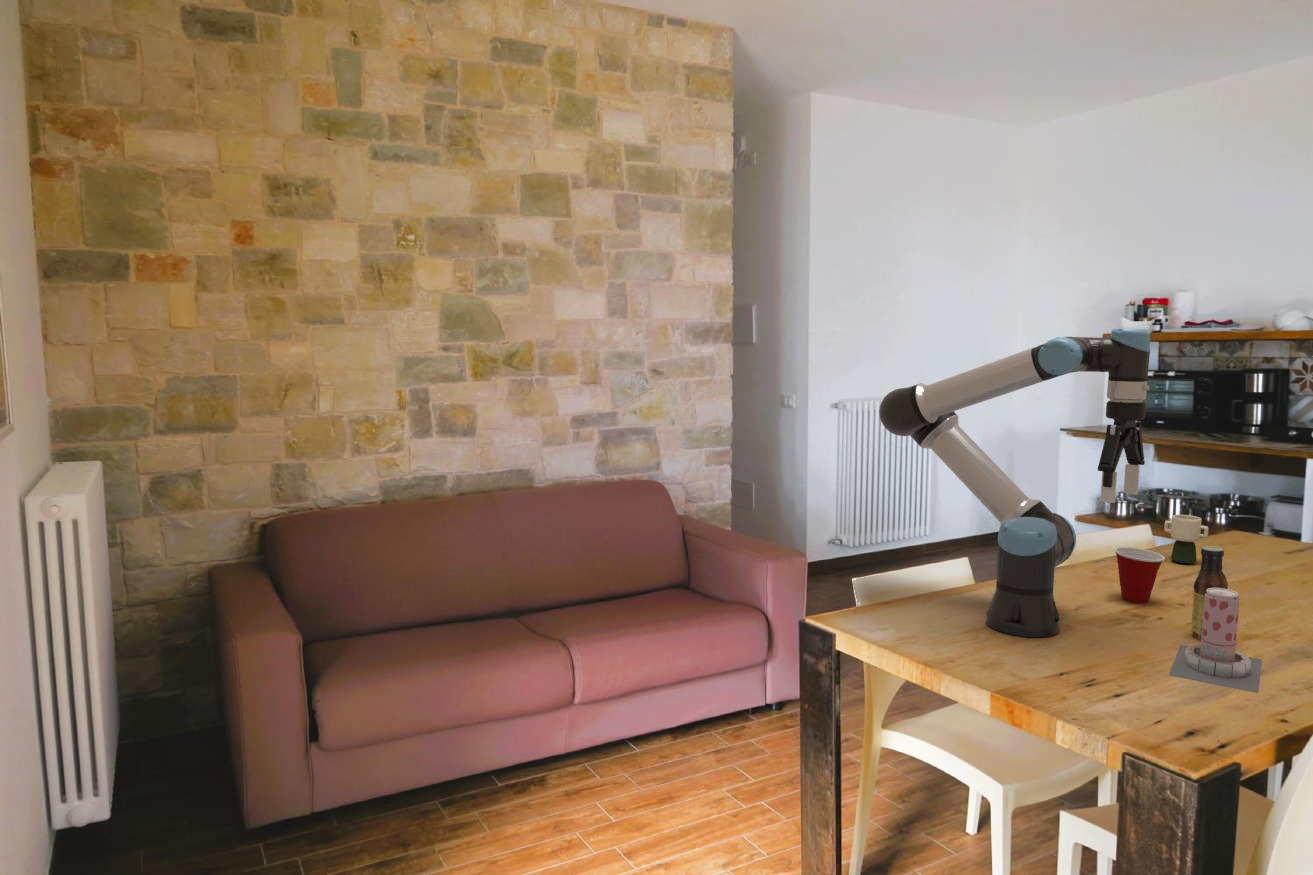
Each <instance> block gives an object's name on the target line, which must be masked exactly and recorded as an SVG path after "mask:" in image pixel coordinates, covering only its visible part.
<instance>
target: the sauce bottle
mask: <svg viewBox="0 0 1313 875" xmlns="http://www.w3.org/2000/svg"><path fill="white" fill-rule="evenodd" d="M1200 554H1201V564H1200V569H1199V571H1198V574H1197V577H1196V579H1195V581H1194V582H1193V586H1192V589H1193V590H1192V594H1193V595H1192V611H1191V612H1192V614H1191V632H1192V633H1191V635H1192V637H1193V638H1195V639H1197V640H1200V641H1201V636H1202V624H1203V613H1204V601H1205V593H1206V590H1207V589H1208V588H1224V589H1228V588H1229V587H1228V586H1229V584H1228V580H1227V577H1226V575H1225V574H1224V572H1223V557H1224V555H1225V551H1224V548H1221V547H1219V546H1210V545H1209V546H1207V545H1205V546H1202V547H1201V548H1200Z"/></svg>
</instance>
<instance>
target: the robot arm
mask: <svg viewBox="0 0 1313 875" xmlns="http://www.w3.org/2000/svg"><path fill="white" fill-rule="evenodd" d="M1150 341H1151V333H1150V331H1149V330H1148V329H1147V328H1113V329H1112V330H1111V333H1110V335H1109V336H1108V337H1093V336H1091V337H1089V336H1088V337H1087V336H1086V337H1085V336H1060V337H1059V336H1058V337H1055V338H1052V339H1050V340H1048V341H1046V342H1045V343H1042V344H1040V345H1038V346H1035V347H1032V348H1031V347H1030V348H1028V349H1026V350H1023V351H1019V352H1018V353H1015V354H1012V355H1009V356H1007V357H1004V358H1001V359H998V360H995V361H993V362H989V363H987V364H984V365H982V366H978V367H975V368H973V369H970V370H967V371H965V372H962V373H958V374H956V375H953V376H951V377H947V378H945V379H942V380H939V381H937V382H934V383H931V384H924V383H917V384H915V385H911V386H908V387H901V388H897V389H894V390H892V391H890V392H889V393H887V394H886V395H885V396H884V398H882V400H881V403H880V405H879V410H878V411H879V419H880V422H881V423H882V426H883V427H884V428H885V430H887V431H888V432H889V433H891V434H893V435H896V436H900V437H908V436H910V437H911V439H913V440H914V442H916V443H917V445H918V446H919V447H920V448H921V449H930V450H931V451H933V452H934V454H935V455H936V456H937V458H938V459H940V460H941V461H942V462H943V463H944V464H945V465H946V467H948V469H949V470H950V471H952V473H953V474H954V475H955V476H956V477H957V478H958V480H959V481H960V482H962V483H963V484H964V485H965V487H966V488H967V489H968V490H969V491H970V492H971V493H972V495H974V496H975V497H976V498H977V499H978V501H979V502H980V503H982V505H983V506H984V507H985V508H986V509H987V510H988V512H990V513H991V514H992V515H993V516H994V518H996V520H997V521H998V522H999V523H1000V525H999V530H998V534H997V544H998V545H997V559H996V560H997V561H996V564H997V566H996V582H995V584H996V586H995V591H994V592H993V595H992V598H991V600H990V602H989V605H988V608H987V610H986V613H985V623H986V625H987V626H988V627H990V628H991V629H993V630H995V631H998V632H1001V633H1004V634H1008V635H1013V636H1018V637H1025V638H1046V637H1052V636H1056V635H1058V634H1059V633H1060V631H1061V619H1060V616H1059V612H1058V608H1057V605H1056V601H1055V597H1054V585H1055V569H1056V568H1057V567H1058V566H1060V565H1061V564H1063V563H1064V562H1066V561H1067V560H1069V558H1070V557H1071V555H1072V554H1073V553H1074V550H1075V548H1076V544H1077V534H1076V531H1075V528H1074V527H1073V524H1071V522H1070V521H1069V520H1068V519H1067V518H1066V517H1064V516H1062V515H1061V514H1059V513H1056V512H1052V510H1050V509H1049V507H1047V505H1045V503H1043V502H1042V501H1041V500H1040V499H1032V498H1029V497H1028V496H1027V495H1026V493H1024V491H1022V490H1021V489H1020V487H1018V486H1017V484H1016V483H1015V482H1014V481H1013V480H1012V479H1011V478H1010V477H1009V476H1008V475H1007V474H1006V473H1005V471H1003V469H1001V468H1000V467H999V466H998V465H997V463H995V461H993V459H992V458H991V457H990V456H989V455H988V454H987V453H986V452H985V451H984V450H983V449H982V448H981V447H980V446H979V445H978V444H977V443H976V442H975V441H974V440H973V439H972V438H971V437H970V436H969V434H967V432H965V430H964V429H963V428H961V427H960V425H959V415H958V414H957V413H956V411H959V410H962V409H965V408H967V407H971V406H974V405H976V404H980V403H983V402H985V401H988V400H992V399H994V398H997V397H1001V396H1003V395H1006V394H1009V393H1013V392H1016V391H1018V390H1021V389H1024V388H1025V389H1026V388H1027V387H1030V386H1034V385H1036V384H1040V383H1042V382H1045V381H1049V380H1052V379H1055V378H1058V377H1061V376H1064V375H1067V374H1071V373H1077V372H1078V373H1079V372H1091V373H1092V372H1093V373H1094V372H1095V373H1108V374H1107V375H1108V380H1107V389H1106V398H1107V399H1109V400H1107V401H1106V406H1105V417H1106V418H1107V419H1109V420H1110V419H1111V420H1113V424H1107V426H1106V430H1105V431H1106V432H1105V439H1104V441H1103V442H1104V443H1103V446H1102V450H1101V454H1100V458H1099V463H1098V466H1097V471H1098V472H1102V474H1101V487H1100V502H1102V503H1103V502H1105V503H1112V504H1114V503H1116V495H1117V480H1118V472H1117V471H1116V469H1117V468H1118V465H1119V461H1120V458H1121V456H1122V453H1123V450H1124V453H1125V458H1126V461H1127V462H1126V463H1125V465H1124V466H1125V468H1124V483H1123V494H1129V495H1136V496H1137V495H1138V493H1139V482H1140V469H1141V468H1140V466H1144V465H1145V464H1146V462H1145V461H1146V460H1145V454H1144V445H1143V434H1142V425H1143V423H1142V420H1144V419H1145V418H1146V410H1147V409H1146V407H1147V406H1146V405H1147V404H1146V403H1145V402H1144V400H1146V399H1147V391H1150V386H1149V385H1148V379H1149V378H1148V376H1149V367H1150V366H1149V363H1150V355H1151V348H1150V347H1151V342H1150Z"/></svg>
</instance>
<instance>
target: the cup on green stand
mask: <svg viewBox="0 0 1313 875" xmlns="http://www.w3.org/2000/svg"><path fill="white" fill-rule="evenodd" d="M1169 525H1171V529H1170V528H1169ZM1163 530H1164V532H1166V533H1170V537H1171V539H1173V540H1175V541H1174V544H1173V547H1172V550H1171V555H1170V559H1171V560H1172V561H1175V562H1177V563H1183V564H1191V563H1197V546H1196V543H1195V542H1199V540H1200V539H1201V538H1202V539H1203V538H1204V539H1206V538H1208V536H1209V526H1207V525H1202V517H1199V516H1195V515H1189V514H1174V515H1172V516H1171V520H1165V521H1164V529H1163ZM1202 530H1204V531H1203V533H1201V531H1202Z"/></svg>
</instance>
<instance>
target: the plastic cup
mask: <svg viewBox="0 0 1313 875" xmlns="http://www.w3.org/2000/svg"><path fill="white" fill-rule="evenodd" d="M1114 552H1115V555H1116V560H1117V561H1116V562H1117V566H1118V578H1119V586H1120V595H1121V598H1122V600H1123V601H1125V602H1128V603H1132V604H1147V603H1149V602H1150V599H1151V594H1152V591H1153V589H1154V586H1155V582H1156V578H1157V575H1158V572H1159V570H1160V566H1161V565H1162V563H1163V562H1165V560H1166V559H1165V556H1164V555H1162V554H1161V553H1158V552H1155V551H1152V550H1150V549H1149V550H1148V549H1145V548H1138V547H1130V546H1119V547H1115V548H1114Z"/></svg>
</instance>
